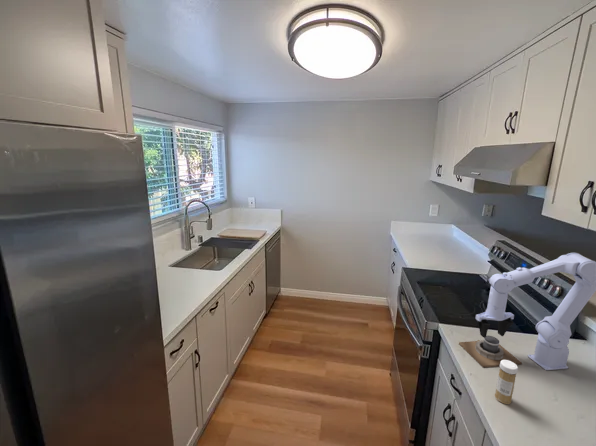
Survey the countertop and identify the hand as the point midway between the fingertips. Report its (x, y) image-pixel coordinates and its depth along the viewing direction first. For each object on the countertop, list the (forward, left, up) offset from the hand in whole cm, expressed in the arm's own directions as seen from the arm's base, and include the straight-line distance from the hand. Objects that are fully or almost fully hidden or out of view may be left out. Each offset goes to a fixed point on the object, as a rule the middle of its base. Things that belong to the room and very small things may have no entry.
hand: (491, 335), depth 112 cm
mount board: (0, 0, -8) cm, 8 cm away
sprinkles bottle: (+12, +21, -9) cm, 26 cm away
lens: (0, 0, -8) cm, 8 cm away
